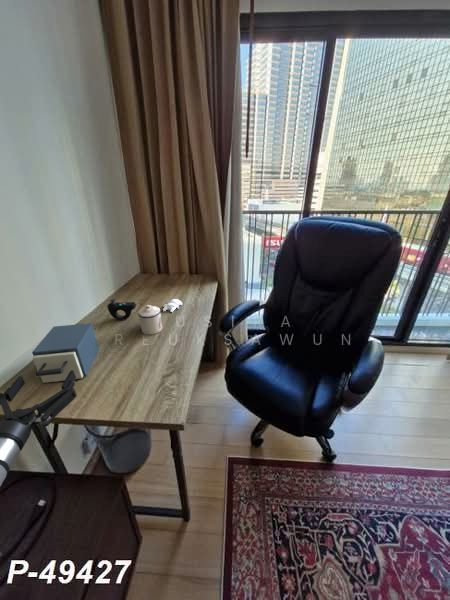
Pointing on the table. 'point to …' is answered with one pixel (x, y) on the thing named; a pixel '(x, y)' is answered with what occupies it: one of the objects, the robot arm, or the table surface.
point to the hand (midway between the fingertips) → (48, 376)
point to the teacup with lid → (150, 319)
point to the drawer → (57, 366)
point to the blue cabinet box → (71, 343)
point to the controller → (116, 306)
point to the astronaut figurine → (172, 305)
